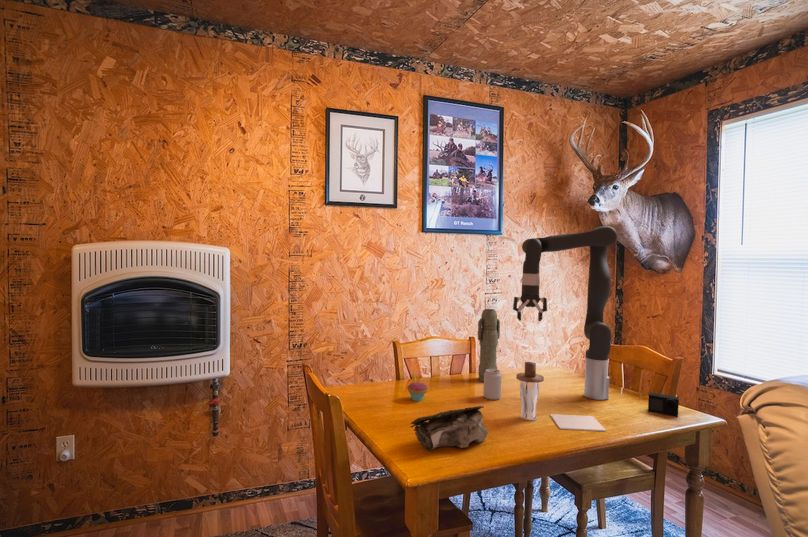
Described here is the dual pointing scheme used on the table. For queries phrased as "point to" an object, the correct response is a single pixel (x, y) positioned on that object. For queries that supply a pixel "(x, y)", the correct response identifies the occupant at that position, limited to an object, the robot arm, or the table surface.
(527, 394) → the beer glass
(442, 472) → the table surface
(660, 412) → the digital camera
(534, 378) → the walnut lid
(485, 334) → the green statue
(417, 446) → the table surface
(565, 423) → the white mat
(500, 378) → the can
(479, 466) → the table surface
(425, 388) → the cupcake
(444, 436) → the hollow geode rock
